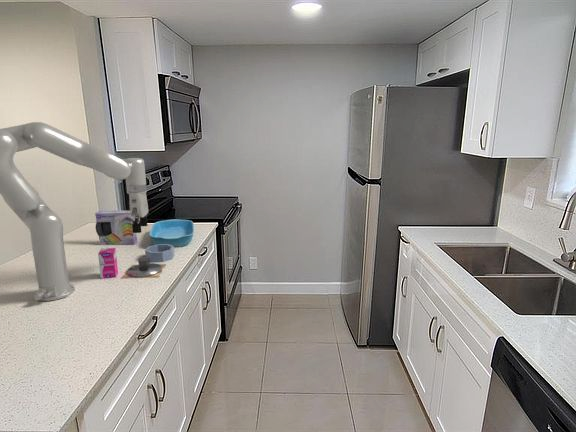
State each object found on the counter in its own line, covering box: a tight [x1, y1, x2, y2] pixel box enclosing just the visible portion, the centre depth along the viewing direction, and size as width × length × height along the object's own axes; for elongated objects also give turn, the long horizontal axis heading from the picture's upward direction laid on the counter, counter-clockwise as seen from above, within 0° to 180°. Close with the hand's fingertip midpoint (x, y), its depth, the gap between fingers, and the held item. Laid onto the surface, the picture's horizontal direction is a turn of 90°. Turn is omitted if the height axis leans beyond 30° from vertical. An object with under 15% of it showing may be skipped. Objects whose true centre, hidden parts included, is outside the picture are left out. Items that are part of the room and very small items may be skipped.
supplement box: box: [97, 247, 119, 280], centre depth 150 cm, size 6×6×12 cm
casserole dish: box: [149, 218, 195, 248], centre depth 201 cm, size 37×22×7 cm, turn 15°
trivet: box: [120, 263, 167, 280], centre depth 157 cm, size 15×15×1 cm
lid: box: [126, 257, 163, 277], centre depth 156 cm, size 14×14×5 cm
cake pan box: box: [94, 209, 138, 246], centre depth 191 cm, size 19×5×18 cm, turn 92°
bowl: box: [144, 244, 175, 263], centre depth 172 cm, size 12×12×5 cm
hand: (140, 229), depth 153 cm, fingers open, 9 cm apart
